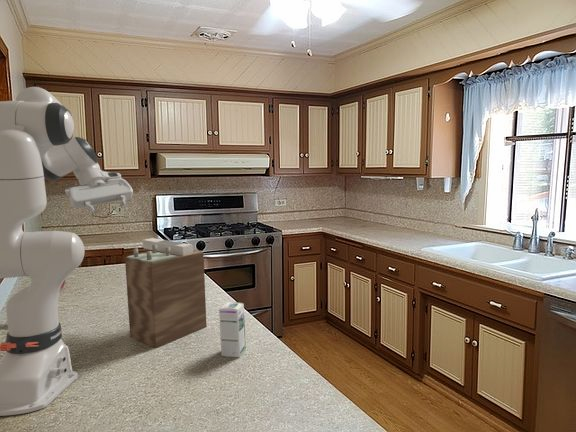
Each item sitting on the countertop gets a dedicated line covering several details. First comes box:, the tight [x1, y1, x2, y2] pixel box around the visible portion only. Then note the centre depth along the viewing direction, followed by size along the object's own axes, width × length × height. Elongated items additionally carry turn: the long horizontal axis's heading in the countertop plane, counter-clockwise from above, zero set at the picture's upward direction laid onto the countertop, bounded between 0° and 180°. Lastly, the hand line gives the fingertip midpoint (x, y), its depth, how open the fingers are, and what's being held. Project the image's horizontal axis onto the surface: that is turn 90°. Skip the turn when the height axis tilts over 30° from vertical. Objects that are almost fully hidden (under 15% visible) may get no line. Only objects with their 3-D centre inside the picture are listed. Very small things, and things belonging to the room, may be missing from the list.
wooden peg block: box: [124, 245, 208, 349], centre depth 137 cm, size 14×20×29 cm
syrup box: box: [218, 301, 247, 358], centre depth 122 cm, size 6×6×14 cm
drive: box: [142, 237, 194, 256], centre depth 142 cm, size 22×4×3 cm, turn 53°
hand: (110, 209), depth 141 cm, fingers open, 8 cm apart
